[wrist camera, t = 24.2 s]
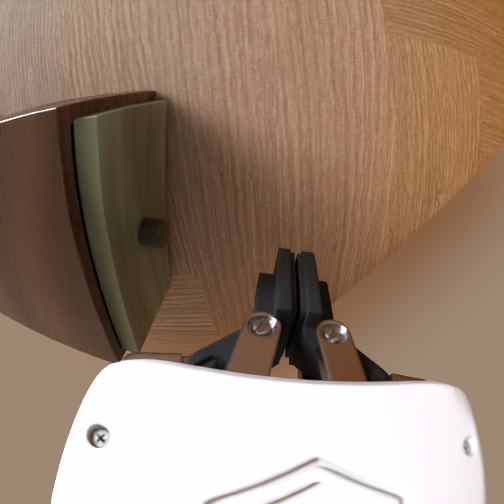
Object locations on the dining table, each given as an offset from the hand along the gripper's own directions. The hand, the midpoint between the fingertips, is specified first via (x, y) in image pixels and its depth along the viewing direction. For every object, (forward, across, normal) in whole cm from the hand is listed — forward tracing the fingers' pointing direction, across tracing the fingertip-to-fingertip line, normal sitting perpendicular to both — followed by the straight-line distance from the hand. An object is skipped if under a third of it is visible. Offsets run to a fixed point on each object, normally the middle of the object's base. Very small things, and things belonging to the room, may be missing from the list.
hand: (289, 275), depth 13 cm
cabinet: (+6, +16, -1) cm, 17 cm away
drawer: (+5, +14, -1) cm, 14 cm away
